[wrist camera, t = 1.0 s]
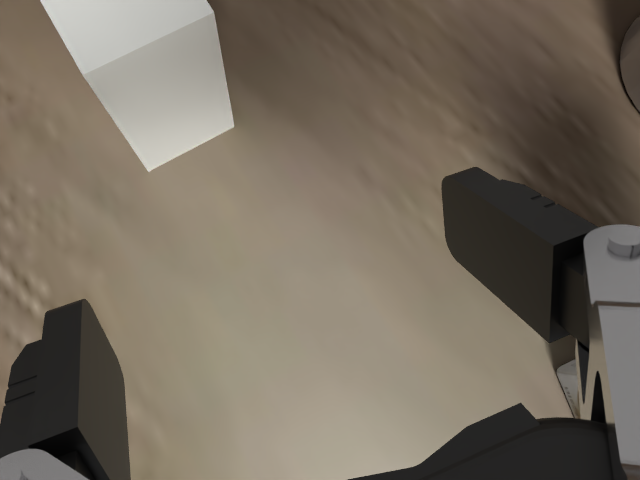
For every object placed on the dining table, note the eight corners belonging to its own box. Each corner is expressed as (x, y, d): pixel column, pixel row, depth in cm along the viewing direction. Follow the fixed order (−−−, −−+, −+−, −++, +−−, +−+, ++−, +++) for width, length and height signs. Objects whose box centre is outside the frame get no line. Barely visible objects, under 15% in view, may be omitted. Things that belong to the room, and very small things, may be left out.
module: (197, 65, 30) (159, -75, 20) (234, 126, 30) (214, 12, 20) (111, 108, 29) (30, -18, 20) (148, 171, 29) (82, 75, 19)
